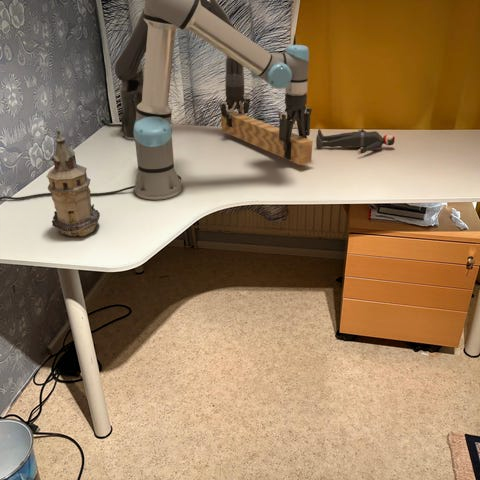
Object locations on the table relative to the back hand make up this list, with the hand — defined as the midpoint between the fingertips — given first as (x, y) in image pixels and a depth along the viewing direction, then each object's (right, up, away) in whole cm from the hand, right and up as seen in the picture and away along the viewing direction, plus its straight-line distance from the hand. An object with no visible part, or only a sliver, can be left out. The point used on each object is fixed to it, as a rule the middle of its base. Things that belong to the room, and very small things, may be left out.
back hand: (235, 125), depth 221 cm
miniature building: (-45, -44, -65) cm, 91 cm away
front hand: (+21, -17, -25) cm, 37 cm away
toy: (+47, -11, -8) cm, 49 cm away
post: (+11, -10, -12) cm, 19 cm away
